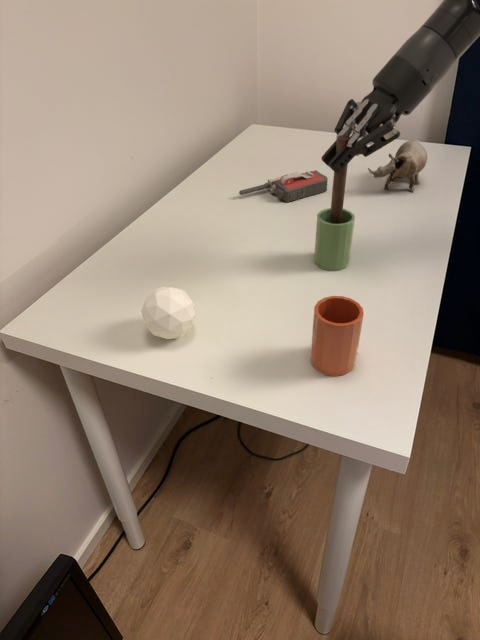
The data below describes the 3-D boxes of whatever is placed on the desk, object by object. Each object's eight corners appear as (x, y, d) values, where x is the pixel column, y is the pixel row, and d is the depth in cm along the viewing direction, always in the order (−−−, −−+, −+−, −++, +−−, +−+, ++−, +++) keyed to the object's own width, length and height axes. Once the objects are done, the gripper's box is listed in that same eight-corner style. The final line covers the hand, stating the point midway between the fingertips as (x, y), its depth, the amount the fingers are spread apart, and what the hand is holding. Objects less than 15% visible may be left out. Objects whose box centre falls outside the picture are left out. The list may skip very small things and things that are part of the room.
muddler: (350, 230, 84) (361, 137, 73) (336, 239, 82) (346, 144, 71) (332, 223, 86) (341, 131, 76) (318, 231, 84) (326, 138, 74)
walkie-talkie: (310, 177, 116) (237, 196, 109) (311, 159, 113) (236, 178, 106) (333, 190, 110) (256, 212, 103) (334, 171, 107) (256, 192, 100)
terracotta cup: (360, 353, 69) (369, 303, 63) (346, 381, 65) (354, 331, 59) (319, 340, 71) (324, 291, 66) (303, 367, 67) (307, 317, 62)
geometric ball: (185, 339, 77) (213, 304, 73) (159, 357, 70) (188, 319, 66) (152, 306, 77) (177, 270, 74) (122, 321, 70) (149, 282, 67)
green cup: (353, 256, 88) (359, 212, 83) (342, 274, 84) (347, 228, 79) (321, 249, 91) (325, 205, 85) (308, 265, 87) (311, 220, 81)
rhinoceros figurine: (443, 165, 112) (431, 120, 100) (414, 215, 111) (399, 175, 99) (412, 160, 117) (397, 116, 105) (384, 207, 116) (366, 168, 104)
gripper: (375, 44, 73) (297, 137, 79) (428, 64, 63) (333, 169, 68) (401, 78, 78) (324, 164, 83) (453, 102, 67) (362, 197, 73)
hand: (329, 166), depth 76 cm, fingers closed on muddler, 2 cm apart
